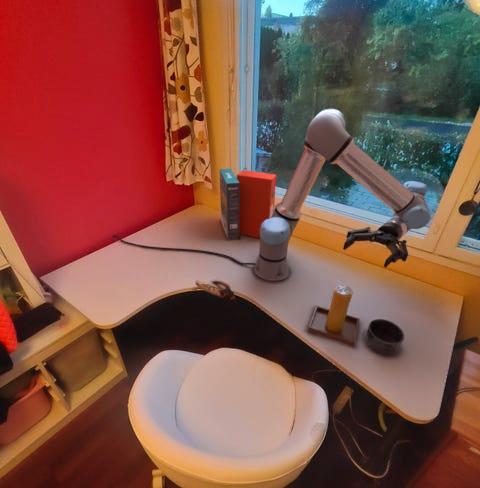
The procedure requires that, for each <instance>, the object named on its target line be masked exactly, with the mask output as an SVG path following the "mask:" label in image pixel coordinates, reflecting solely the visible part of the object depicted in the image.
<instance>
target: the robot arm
mask: <svg viewBox="0 0 480 488" xmlns="http://www.w3.org/2000/svg"><path fill="white" fill-rule="evenodd" d="M346 129H347V120H346V118H345V116H344V115H343V113H342V112H341V111H340V110H338V109H335V108H326V109H323V110H321V111H320V112H318V113H317V114H316V115H315V117H314V118H313V119H311V121H310V123H309V125H308V126H307V130H306V136H305V139H304V141H303V143H302V144H303V147H304V151H303V153H302V155H301V158H300V159H299V162H298V164H297V165H296V169H295V171H294V173H293V175H292V178H291V180H290V182H289V184H288V187H287V188H286V191H285V193H284V196H283V198H282V200H281V201H280V202H277V203H276V205H275V206H274V212H273V214H272V216H271V218H269V219H266V220H265V221H264V222H263V223H262V225H261V228H260V238H259V251H258V252H259V253H258V256H257V260H256V261H255V262H241V261H239V260H237V259H236V258H234V257H232V256H229V255H227V254H223V253H219V252H216V251H215V252H214V251H209V250H202V249H191V248H176V247H160V246H150V245H144V244H137V243H133V242H129V241H126V240H123V239H122V238H120V236H118V235H117V234H114V235H112V238H116V239H117V240H119V242H121V243H124V244H127V245H131V246H135V247H139V248H146V249H154V250H166V251H183V252H195V253H197V252H199V253H205V254H211V255H216V256H221V257H224V258H228V259H230V260H232V261H234V262H236V263H237V264H239V265H243V266H248V265H249V266H254V267H253V271H254V274H255V276H256V277H257V278H259V279H261V280H263V281H265V282H271V283H274V282H275V283H277V282H281V281H284V280H286V279H287V278H288V276H289V274H290V266H289V260H288V258H287V257H288V250H289V249H288V248H289V243H290V240H291V238H292V235H293V234H294V231H295V229H296V227H297V225H298V223H299V221H300V219H301V217H302V212H301V209H302V207H303V205H304V204H305V201H306V199H307V197H308V196H309V194H310V192H311V189H312V188H313V186H314V183H315V182H316V179H318V178H317V177H318V176H319V174H320V172H321V170H322V168H323V166H324V164H325V162H326V161H328V162H329V163H330V164H331V165H338V166H339V167H340V168H341V169H343V170H344V171H345V172H346V173H347V174H348V175H349V176H351V178H353V179H354V180H355V181H357V182H358V183H359V184H360V185H362V186H363V187H364V188H365V189H367V190H368V191H369V192H370V193H371V194H372V195H374V197H376V198H377V199H379V200H380V201H381V202H382V203H383V204H385V206H387V208H389V209H390V210H391V211H393V214H392V217H391V218H390V219H388V220H387V221H386V222H385V223H384V224H382V225H381V226H380V227H378V228H377V230H372V229H371V227H370V226H367V227H364V228H359V229H353V230H348V231H347V234H346V241H344V243H343V247H342V250H344V251H346V250H347V249H349V248H350V247H351V246H352V245H354V244H355V242H369V243H377V244H381V246H385V247H386V249H388V250H389V251H390V253H391V254H390V255H389V256H388V257H387V258H386V259H385V261H384V264H383V268H387V267H388V266H389V265H390V264H391V263H394V264H395V263H397V262H398V261H400V260H401V261H402V262H406V261H407V259H408V257H409V251H408V248H407V242H408V241H407V240H406V239H403V240H400V239H402V238H403V237H404V236H405V235H406V234H407V233H409V231H411V230H420V229H423V228H424V227H426V226H427V225H428V224H429V223H430V221H431V218H432V217H431V216H432V215H431V210H430V208H429V206H428V204H427V201H426V199H425V196H426V194H427V190H428V186H427V184H426V183H424V182H420V181H416V180H415V181H414V180H409V181H406V182H404V183H403V184H402V183H401V182H400V181H399V180H397V178H395V177H394V176H393V175H392V174H391V173H389V172H388V171H387V170H386V169H385V168H384V167H382V166H381V165H380V164H379V163H378V162H376V161H375V160H374V159H373V158H372V157H371V156H370V155H368V154H367V153H366V152H365V151H364V150H362V149H361V148H360V147H359V146H357V145H356V144H355V141H354V140H355V138H354V137H353V136H352V135H350V134H349V133H348V131H347V130H346Z"/></svg>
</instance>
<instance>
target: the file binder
mask: <svg viewBox="0 0 480 488" xmlns="http://www.w3.org/2000/svg"><path fill="white" fill-rule="evenodd" d="M236 178H237V179H238V181H239V183H240V193H239V235H243V236H244V235H245V236H250V237H254V238H259V239H260V228H261V225H262V223H263V222H264V221H265V220H266V219H269V218H271V216H272V214H273V212H274V209H275V201H276V200H275V199H276V187H277V186H276V184H277V174H274V173H268V172H261V171H251V170H245V169H244V170H241V171H239V172H238V173H237V174H236Z"/></svg>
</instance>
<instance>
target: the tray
mask: <svg viewBox="0 0 480 488" xmlns="http://www.w3.org/2000/svg"><path fill="white" fill-rule="evenodd" d="M328 312H329V308H326V307H324V306H319V305H315V307H314V310H313V313H312V315H311V319H310V321H309V325H308V327H307V332H309V333H312V334H314V335H318V336H321V337H323V338H326V339H329V340H332V341H334V342H338V343H341V344H343V345H347V346H350V347H353V348H354V347H355V345H356V343H357V337H358V330H359V326H360V318H359V317H356V316H352V315H349V314H346V317H345V321H344V324H343V328H342V330H341V331H339V332H333V331H330V330H329V329H328V328H327V327H326V320H327V316H328Z"/></svg>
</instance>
